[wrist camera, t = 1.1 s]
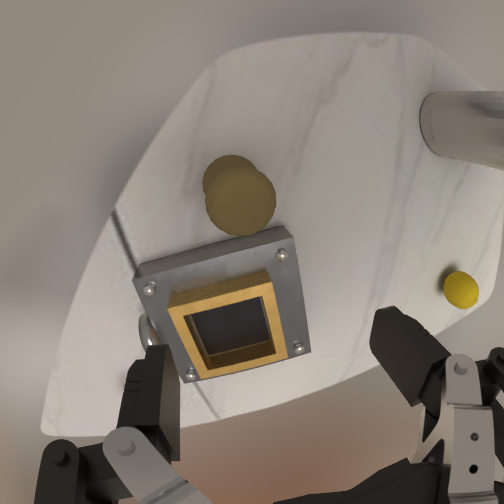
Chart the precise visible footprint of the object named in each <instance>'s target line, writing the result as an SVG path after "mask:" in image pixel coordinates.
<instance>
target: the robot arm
mask: <svg viewBox="0 0 504 504" xmlns="http://www.w3.org/2000/svg"><path fill="white" fill-rule="evenodd" d="M420 123H421V129H422V133H423V136H424V139H425V141H426V143H427V145H428V146H429V147H430V149H431V150H432V151H433V152H434V153H435V154H437V155H439V156H443V157H448V158H453V159H458V160H462V161H467V162H471V163H476V164H480V165H484V166H488V167H492V168H496V169H500V170H503V171H504V91H463V92H442V93H434V94H431V95H429V96H428V97H427V98H426V99H425V100H424V103H423V105H422V108H421V114H420ZM369 343H370V349H371V351H372V353H373V355H374V356H375V357H376V359H377V360H378V361H379V363H380V364H381V365H382V367H383V368H384V369H385V371H386V372H387V373H388V375H389V376H390V378H391V379H392V380H393V382H394V383H395V385H396V386H397V387H398V389H399V390H400V391H401V393H402V394H403V396H404V397H405V398H406V400H407V401H408V403H409V404H410V406H411V407H413V406H415V405H417V404H419V403H421V402H422V403H423V405H424V406H423V408H422V412H421V422H420V430H419V438H418V444H417V449H416V452H415V454H414V456H413V458H412V460H411V463H410V462H409V461H408V459H407V458H405V459H403V460H400V461H399V462H397V463H394V464H392V465H390V466H388V467H385V468H383V469H381V470H379V471H377V472H376V473H374V474H373V475H372V476H370V477H369V478H367V479H366V480H364V481H363V482H361V483H360V484H358V485H357V486H355V487H354V488H352V489H350V490H347V491H341V492H331V493H320V494H308V495H304V496H301V497H296V498H292V499H287V500H283V501H278V502H274V503H273V504H504V478H503V480H502V482H498V481H494V466H495V460H494V459H495V456H494V455H496V456H497V458H498V459H499V461H500V462H501V464H502V466H503V467H504V409H503V407H502V406H501V405H500V403H499V402H498V401H497V400H496V397H497V395H498V394H499V392H500V391H501V390H502V391H503V392H504V348H501V347H497V348H494V349H492V350H491V352H490V354H489V356H488V358H487V359H485V360H480V361H475V362H474V360H473V359H471V358H470V357H468V356H466V355H463V354H454V355H451V354H450V353H449V352H448V351H447V350H446V349H445V348H444V347H443V346H442V345H441V344H440V343H439V342H438V341H437V340H436V339H435V338H434V337H433V336H432V335H430V333H429V332H428V331H427V330H426V329H424V327H423V326H422V325H421V324H420V323H419V322H418V321H417V320H415V319H413V318H412V317H410V316H408V315H404V314H403V313H402V312H401V311H400V310H399V309H398V308H397V307H395V306H390V307H386V308H382V309H378V310H377V311H376V312H375V316H374V321H373V326H372V330H371V335H370V341H369ZM171 461H180V381H179V375H178V372H177V369H176V365H175V362H174V359H173V356H172V352H171V349H170V346H169V344H156V345H148V346H147V350H146V355H145V359H140V360H135V362H134V363H133V364H132V366H131V367H130V368H129V370H128V374H127V378H126V383H125V388H124V392H123V397H122V402H121V407H120V412H119V417H118V423H117V427H116V429H115V430H113V431H111V432H110V433H109V434H108V435H107V436H106V437H105V439H104V441H103V442H102V443H99V444H95V445H90V446H85V447H80V448H77V447H76V446H75V445H74V444H73V443H72V442H70V441H68V440H64V439H59V440H55V441H53V442H51V443H49V444H48V445H47V447H46V448H45V449H44V451H43V455H42V459H41V464H40V469H39V474H38V480H37V487H36V493H35V500H34V504H118V500H119V499H124V498H129V497H135V499H136V500H137V501H138V503H139V504H213V503H212V502H211V501H209V500H208V499H207V498H206V497H205V496H204V495H203V494H202V493H201V492H199V491H198V490H197V489H196V488H195V487H194V486H193V485H192V484H191V483H189V482H188V481H186V480H185V479H184V478H183V477H181V476H180V475H179V474H178V473H177V471H176V470H174V468H173V467H172V466H171Z"/></svg>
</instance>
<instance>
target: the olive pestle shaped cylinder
mask: <svg viewBox="0 0 504 504" xmlns="http://www.w3.org/2000/svg"><path fill="white" fill-rule="evenodd" d="M203 191H204V193H205V195H206V199H205V201H206V210H207V213H208V215H209V217H210V219H211V221H212V222H213V223H214V224H215V225H216V226H217V227H218V228H219V229H220V230H222V231H224V232H226V233H228V234H230V235H235V236H246V235H251V234H254V233H256V232H258V231H260V230H261V229H262V228H264V227H265V226H266V225H267V224H268V223H269V221H270V220H271V218H272V216H273V214H274V211H275V207H276V193H275V190H274V188H273V185H272V183H271V182H270V181H269V179H268V178H267V177H266V176H265V175H264V174H263V173H261V172H259V171H258V170H256V168H255V167H254V165H253V164H252V163H251V162H250V161H248V160H247V159H245V158H243V157H240V156H236V155H228V156H223V157H221V158H218V159H216V160H215V161H214V162H213V163H211V164H210V165H209V167H208V168H207V170H206V172H205V173H204V178H203Z"/></svg>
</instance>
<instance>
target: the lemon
mask: <svg viewBox="0 0 504 504" xmlns="http://www.w3.org/2000/svg"><path fill="white" fill-rule="evenodd" d="M444 295H445V297H446V298H447V300H448V301H449V302H450V303H451V304H452V305H454V306H455V307H457V308H460V309H467V308H470V307H472V306H473V305H474V304H475V303H476V302H477V299H478V295H479V289H478V285H477V283H476V282H475V280H474V279H473V278H472V277H471V276H470V275H468V274H467V273H465V272H462V271H456V272H453V273H451V274H450V275H449V276H448V277H447V278H446V279H445V282H444Z"/></svg>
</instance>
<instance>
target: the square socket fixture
mask: <svg viewBox="0 0 504 504" xmlns="http://www.w3.org/2000/svg"><path fill="white" fill-rule="evenodd" d="M132 282H133V284H134V286H135V289H136V291H137V293H138V295H139V297H140V300H141V302H142V304H143V306H144V308H145V310H146V312H147V313H145V314H142V315H141V316H140V318H139V325H138V326H139V335H140V340H141V343H142V346H143V348H144V350H145V352H146V350H147V346H148V345H156V344H169V346H170V349H171V352H172V356H173V359H174V362H175V365H176V369H177V372H178V374H179V375H180V377H181V379H182V380H183V382H184V384H185V383H191V382H196V381H201V380H206V379H211V378H216V377H220V376H225V375H229V374H234V373H238V372H242V371H246V370H250V369H254V368H258V367H262V366H266V365H269V364H273V363H277V362H280V361H284V360H287V359H290V358H294V357H297V356H300V355H304V354H307V353H310V352H311V347H310V339H309V332H308V325H307V318H306V311H305V305H304V298H303V292H302V285H301V279H300V273H299V267H298V261H297V255H296V250H295V244H294V238H293V236H292V235H291V234H290V233H289V231H288V230H287V229H286V228H285V227H284V226H280V227H276V228H272V229H268V230H264V231H260V232H257V233H254V234H251V235H246V236H241V237H238V238H234V239H230V240H226V241H222V242H219V243H215V244H211V245H208V246H204V247H200V248H197V249H193V250H189V251H186V252H182V253H178V254H175V255H171V256H167V257H164V258H160V259H157V260H153V261H150V262H146V263H142V264H140V265H139V267H138V269H137V271H136V273H135V275H134V277H133V279H132Z"/></svg>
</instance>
